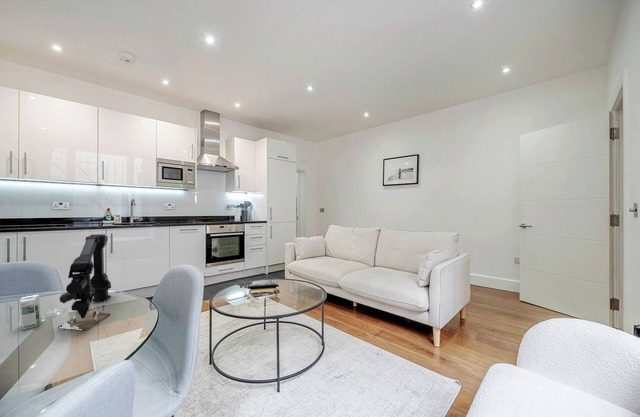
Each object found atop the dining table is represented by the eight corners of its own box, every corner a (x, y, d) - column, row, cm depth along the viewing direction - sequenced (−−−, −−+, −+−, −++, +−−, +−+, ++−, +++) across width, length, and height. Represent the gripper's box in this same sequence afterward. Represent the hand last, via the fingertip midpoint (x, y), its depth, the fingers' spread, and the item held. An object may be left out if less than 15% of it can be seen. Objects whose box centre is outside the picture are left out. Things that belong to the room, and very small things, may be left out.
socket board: (84, 312, 139) (84, 308, 138) (110, 314, 139) (110, 310, 138) (58, 328, 125) (57, 323, 125) (86, 331, 125) (86, 326, 124)
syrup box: (22, 330, 122) (19, 301, 120) (24, 324, 126) (21, 296, 124) (39, 326, 126) (37, 298, 124) (41, 320, 130) (39, 293, 128)
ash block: (78, 318, 133) (78, 309, 132) (94, 315, 136) (93, 306, 135) (76, 324, 128) (75, 315, 127) (92, 321, 131) (91, 312, 130)
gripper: (65, 280, 132) (67, 308, 134) (55, 296, 117) (57, 327, 119) (94, 276, 138) (95, 303, 140) (87, 291, 123) (89, 321, 125)
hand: (85, 313), depth 131 cm, fingers open, 9 cm apart
